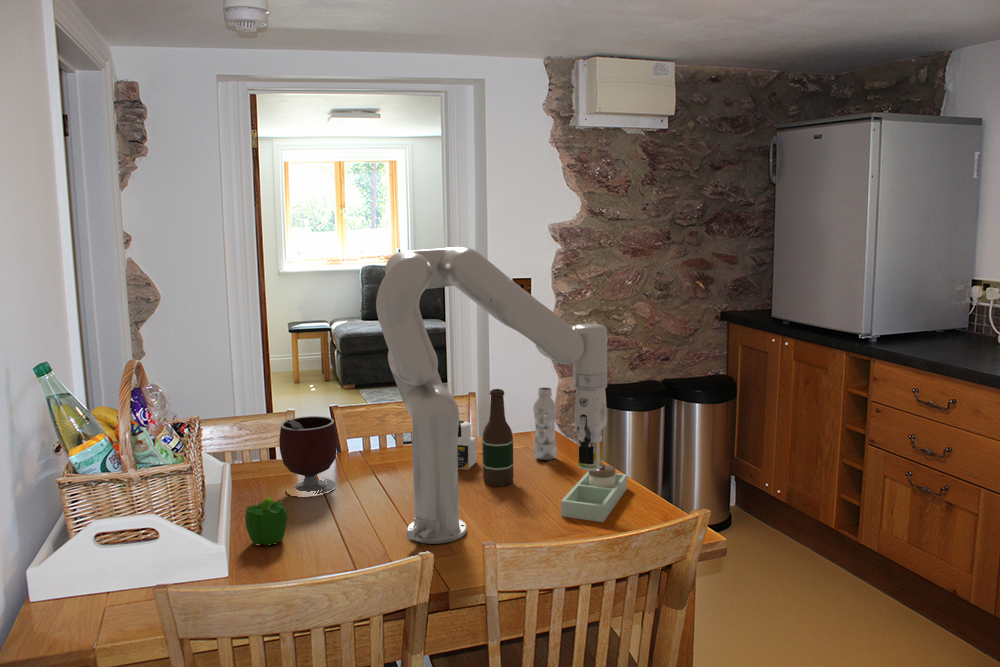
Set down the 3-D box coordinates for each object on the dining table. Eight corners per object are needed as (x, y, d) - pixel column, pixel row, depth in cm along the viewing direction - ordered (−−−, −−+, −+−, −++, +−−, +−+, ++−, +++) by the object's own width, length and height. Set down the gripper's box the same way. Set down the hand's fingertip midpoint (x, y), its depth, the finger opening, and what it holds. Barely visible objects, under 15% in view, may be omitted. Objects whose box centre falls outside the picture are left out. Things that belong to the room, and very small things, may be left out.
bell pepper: (245, 538, 160) (242, 493, 159) (285, 531, 163) (282, 487, 162) (249, 553, 152) (246, 506, 151) (290, 546, 156) (288, 499, 154)
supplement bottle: (591, 461, 173) (591, 420, 172) (607, 467, 168) (607, 425, 167) (573, 466, 170) (573, 424, 169) (588, 472, 166) (588, 429, 164)
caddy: (603, 526, 164) (603, 506, 163) (561, 520, 167) (561, 500, 167) (627, 492, 184) (627, 474, 184) (588, 487, 188) (589, 469, 187)
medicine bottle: (443, 468, 204) (442, 424, 203) (452, 460, 211) (451, 418, 209) (468, 470, 202) (467, 426, 200) (476, 462, 209) (476, 419, 207)
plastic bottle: (561, 457, 212) (561, 387, 209) (549, 464, 206) (549, 392, 203) (540, 454, 215) (540, 385, 212) (529, 460, 210) (528, 390, 207)
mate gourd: (301, 477, 198) (297, 403, 195) (348, 482, 194) (345, 406, 191) (267, 498, 183) (262, 418, 180) (318, 503, 179) (314, 421, 176)
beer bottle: (514, 477, 196) (513, 386, 193) (512, 487, 188) (511, 393, 185) (485, 476, 197) (483, 386, 193) (481, 486, 189) (479, 393, 186)
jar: (611, 500, 176) (611, 469, 175) (585, 496, 179) (585, 466, 178) (618, 491, 182) (618, 461, 181) (592, 487, 185) (592, 458, 184)
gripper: (596, 389, 157) (596, 473, 160) (616, 373, 173) (615, 450, 175) (561, 386, 160) (562, 469, 163) (584, 371, 176) (584, 446, 178)
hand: (590, 458), depth 169 cm, fingers closed on supplement bottle, 5 cm apart
